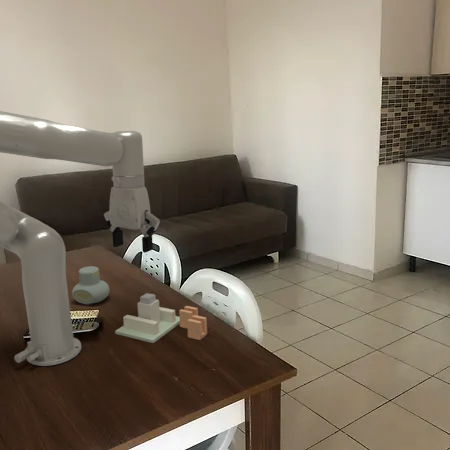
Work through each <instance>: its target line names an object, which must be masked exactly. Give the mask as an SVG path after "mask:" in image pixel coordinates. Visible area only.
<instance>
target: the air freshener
mask: <svg viewBox="0 0 450 450" xmlns="http://www.w3.org/2000/svg"><path fill="white" fill-rule="evenodd" d="M100 276H101V275H100V269H99V267H97V266H89V265H88V266H84V267H82V268H80V269H79V270H78V278H79V279H78V280H79V282H78V283H77V284H76V285H74V287H73V288H72V291H71V295H72V298H73V299H74V300H75V301H76V302H78V303H80V304H83V305H88V306H89V305H94V304H97V303H100V302H102V301H104V300H105V299H106V298H107V297H108V296H109V294H110V291H111V288H110V285H109V284H108V283H107V282H106V281H104V280H102V279H101V277H100Z"/></svg>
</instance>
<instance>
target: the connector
mask: <svg viewBox="0 0 450 450" xmlns="http://www.w3.org/2000/svg"><path fill="white" fill-rule="evenodd" d="M139 299H140V301H138V302H137V315H138V316H139V318H144V319H148V320H153V321H157V322H158V323H160V322H161V321H160V307H161V306H160V300H159V299H156V294H154V293H149V292H148V293H147V292H146V293H144V294H143V295H141V296H140V297H139ZM138 316H137V317H138Z"/></svg>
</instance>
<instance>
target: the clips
mask: <svg viewBox="0 0 450 450" xmlns="http://www.w3.org/2000/svg"><path fill="white" fill-rule="evenodd" d="M183 308H184V309H182V308H181V309H179V310H178V314H179V317H180V324H179V327H180V328H183V329H187V337H188V338H189V339H194V340H197V341H201V340H202V339H203V338H205V337H206V336H207V335H208V325H207V324H208V322H207V321H208V320H207V317H205V316H201V315H199V308H198V307H194V306H190V305H186V306H184V307H183Z"/></svg>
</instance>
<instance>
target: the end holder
mask: <svg viewBox="0 0 450 450" xmlns="http://www.w3.org/2000/svg"><path fill="white" fill-rule="evenodd" d="M159 307H160V321H161V322H160V323H158V322H157V321H153V320H148V319H144V318H139V316H135V315H130V314H126V315H124V316H123V318H122V319H123V325H122V326H121V327H119V328H118V329H116V330H115V331H114V333H115V335H118V336H123V337H126V338H131V339H135V340H139V341H143V342H147V343H150V344H155V342H157V341H159V340H160V339H161V338H162V337H164V336H165V335H166V334H168V333H169V332H170V331H172V330H173V329H175V328H176V327H177V326H178V325H180V315H179V316H177V315H176V310H175V309H171V308H168V307H161V306H159Z"/></svg>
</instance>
